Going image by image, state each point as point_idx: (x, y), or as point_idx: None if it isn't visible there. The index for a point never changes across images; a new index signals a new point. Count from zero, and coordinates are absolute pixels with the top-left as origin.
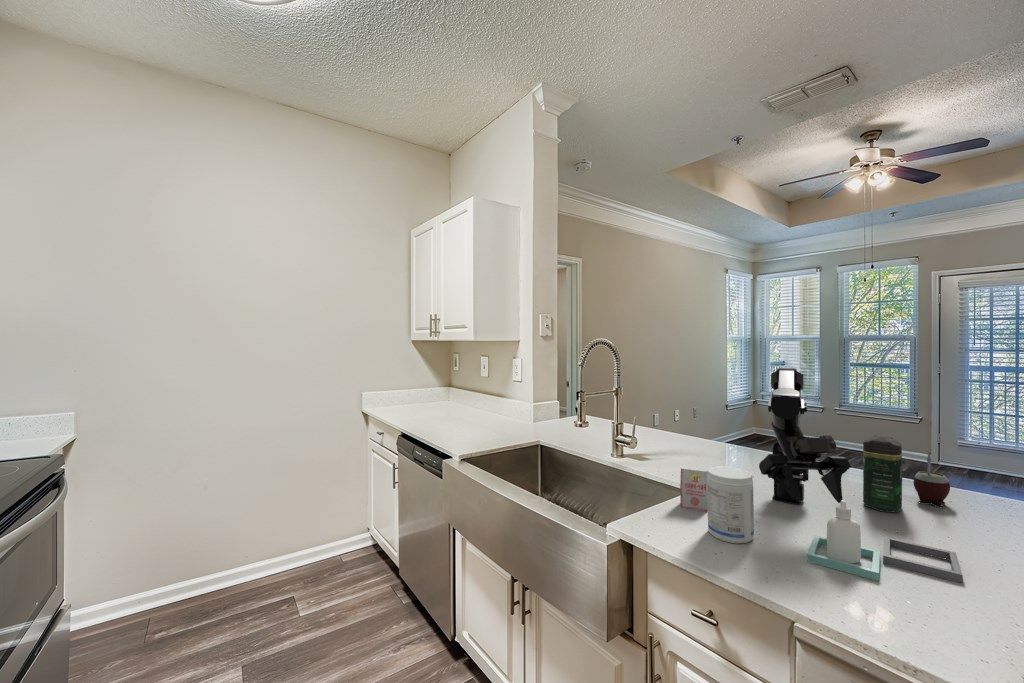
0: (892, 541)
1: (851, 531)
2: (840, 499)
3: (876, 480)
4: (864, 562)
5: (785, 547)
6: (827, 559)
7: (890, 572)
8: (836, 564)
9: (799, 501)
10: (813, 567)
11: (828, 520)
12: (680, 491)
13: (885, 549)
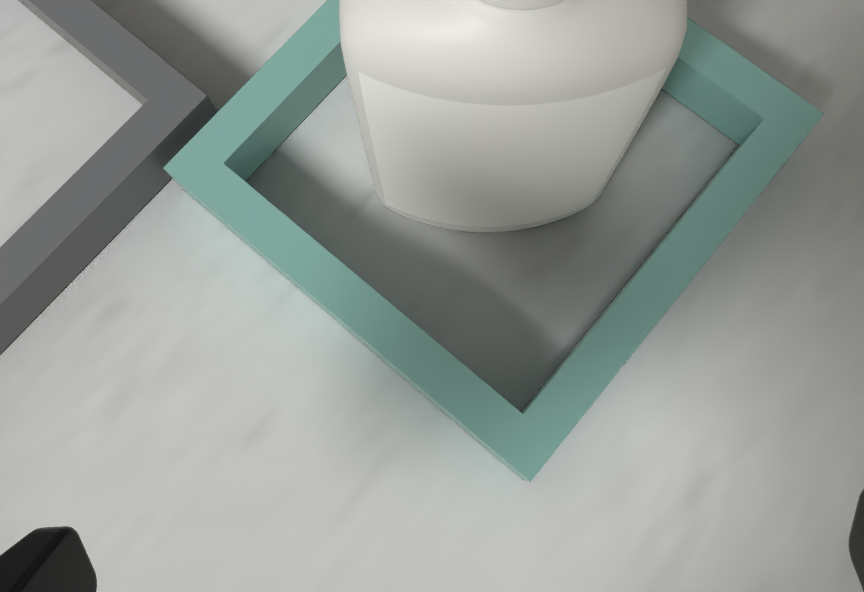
0: None
1: None
2: (56, 542)
3: None
4: (358, 132)
5: (853, 372)
6: (706, 34)
7: (287, 6)
8: None
9: (860, 537)
10: (795, 61)
11: (671, 33)
12: None
13: (92, 192)
